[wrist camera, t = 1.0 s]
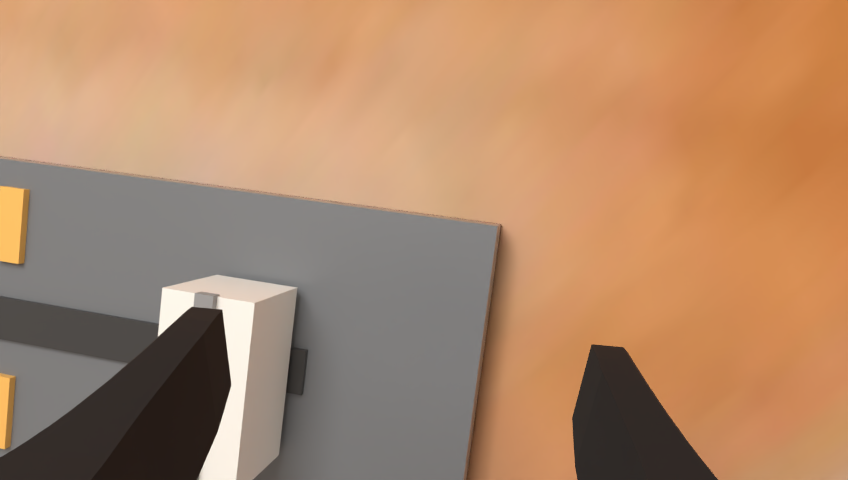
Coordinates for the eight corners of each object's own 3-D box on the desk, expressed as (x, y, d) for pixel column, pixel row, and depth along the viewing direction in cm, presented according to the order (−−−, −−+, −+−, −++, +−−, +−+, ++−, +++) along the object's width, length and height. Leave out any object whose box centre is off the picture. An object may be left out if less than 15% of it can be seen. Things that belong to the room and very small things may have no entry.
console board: (457, 549, 26) (449, 575, 24) (-176, 410, 31) (-221, 423, 29) (501, 224, 25) (496, 226, 23) (-162, 134, 30) (-208, 130, 28)
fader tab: (278, 456, 25) (230, 502, 21) (200, 440, 25) (139, 482, 22) (297, 286, 24) (251, 302, 21) (216, 273, 25) (158, 287, 21)
